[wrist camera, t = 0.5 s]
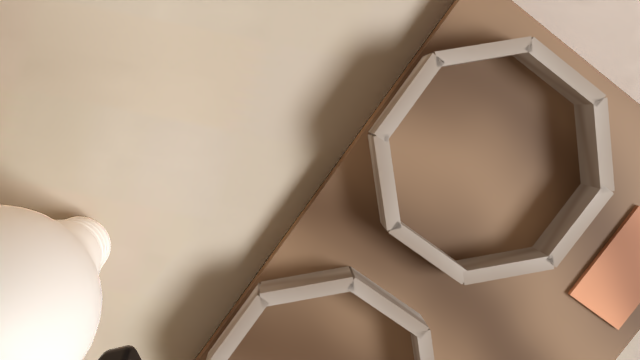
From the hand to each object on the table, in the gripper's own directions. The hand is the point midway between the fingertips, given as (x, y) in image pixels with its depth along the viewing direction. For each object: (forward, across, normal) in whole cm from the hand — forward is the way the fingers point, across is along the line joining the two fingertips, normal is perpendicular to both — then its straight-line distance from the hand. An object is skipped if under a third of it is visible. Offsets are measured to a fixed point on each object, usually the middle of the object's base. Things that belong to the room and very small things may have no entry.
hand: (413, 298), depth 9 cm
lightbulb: (+14, +11, +6) cm, 19 cm away
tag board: (+12, -4, +12) cm, 17 cm away
